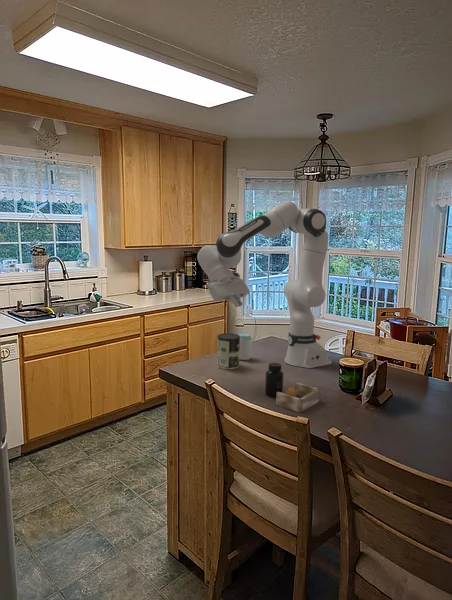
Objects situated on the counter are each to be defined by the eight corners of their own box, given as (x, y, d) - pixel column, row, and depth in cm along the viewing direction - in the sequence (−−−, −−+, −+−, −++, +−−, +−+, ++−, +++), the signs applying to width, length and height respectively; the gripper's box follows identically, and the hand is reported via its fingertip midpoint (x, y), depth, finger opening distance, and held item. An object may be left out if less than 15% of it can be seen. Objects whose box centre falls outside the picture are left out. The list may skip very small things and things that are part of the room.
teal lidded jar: (252, 360, 205) (253, 336, 203) (238, 361, 203) (239, 336, 201) (248, 356, 212) (249, 332, 210) (234, 356, 210) (235, 333, 208)
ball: (297, 386, 162) (296, 396, 163) (286, 385, 163) (286, 395, 164) (295, 390, 158) (294, 400, 159) (284, 389, 160) (283, 399, 160)
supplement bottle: (281, 391, 168) (283, 362, 166) (283, 398, 161) (285, 367, 159) (264, 390, 168) (265, 361, 166) (265, 397, 161) (266, 367, 159)
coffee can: (239, 362, 202) (240, 333, 199) (239, 369, 191) (240, 339, 189) (217, 361, 202) (217, 332, 199) (216, 369, 192) (217, 338, 189)
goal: (275, 404, 155) (276, 392, 155) (296, 393, 166) (297, 382, 166) (300, 412, 149) (301, 400, 148) (320, 400, 160) (321, 389, 159)
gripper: (209, 276, 168) (227, 304, 164) (241, 273, 184) (258, 298, 179) (200, 286, 172) (218, 314, 167) (232, 282, 187) (249, 307, 183)
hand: (239, 306), depth 174 cm, fingers closed
